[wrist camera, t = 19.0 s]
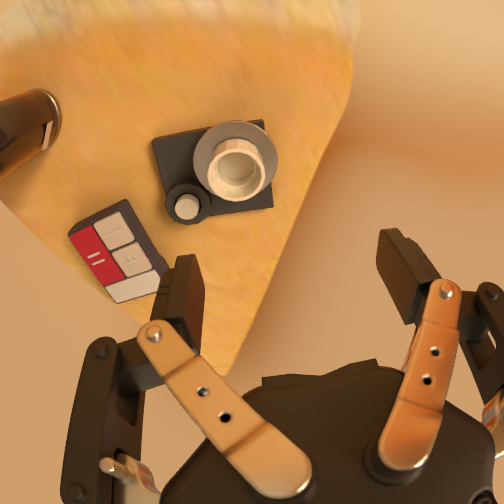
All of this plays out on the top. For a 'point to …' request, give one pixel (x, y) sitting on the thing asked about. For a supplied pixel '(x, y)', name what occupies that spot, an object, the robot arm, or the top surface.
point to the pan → (228, 132)
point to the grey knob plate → (186, 182)
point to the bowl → (236, 170)
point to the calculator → (119, 252)
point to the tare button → (187, 206)
